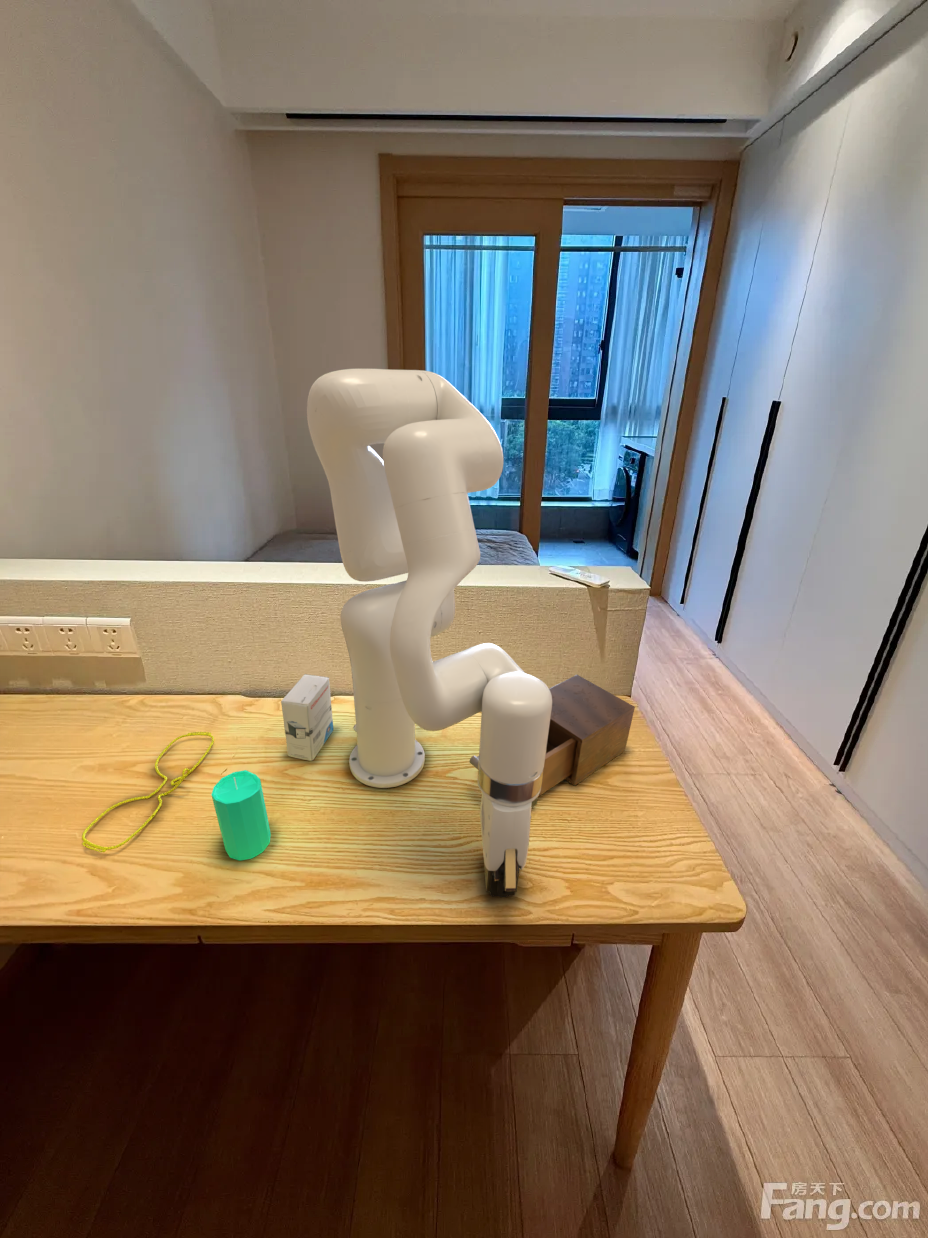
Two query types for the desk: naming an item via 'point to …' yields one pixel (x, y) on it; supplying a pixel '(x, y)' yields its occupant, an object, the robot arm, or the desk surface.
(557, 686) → the cabinet
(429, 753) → the desk surface
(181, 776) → the yellow rope loop
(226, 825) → the candle
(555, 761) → the drawer
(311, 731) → the ink box
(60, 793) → the desk surface
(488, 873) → the block
